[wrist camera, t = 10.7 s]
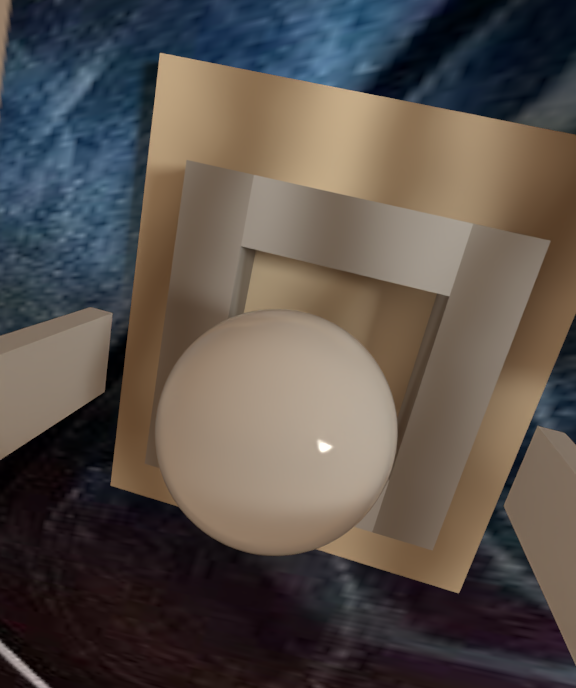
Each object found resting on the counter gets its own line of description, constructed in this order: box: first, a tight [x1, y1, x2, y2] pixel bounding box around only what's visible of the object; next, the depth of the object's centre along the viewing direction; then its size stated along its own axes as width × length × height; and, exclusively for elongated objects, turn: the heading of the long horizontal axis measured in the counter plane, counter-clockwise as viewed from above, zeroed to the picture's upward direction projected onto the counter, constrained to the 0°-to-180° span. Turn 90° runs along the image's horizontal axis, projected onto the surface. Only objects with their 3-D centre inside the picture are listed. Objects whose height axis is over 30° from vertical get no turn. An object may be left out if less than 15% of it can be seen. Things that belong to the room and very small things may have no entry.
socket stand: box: [111, 53, 576, 593], centre depth 19 cm, size 18×20×4 cm
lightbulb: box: [154, 309, 398, 556], centre depth 15 cm, size 6×6×11 cm
